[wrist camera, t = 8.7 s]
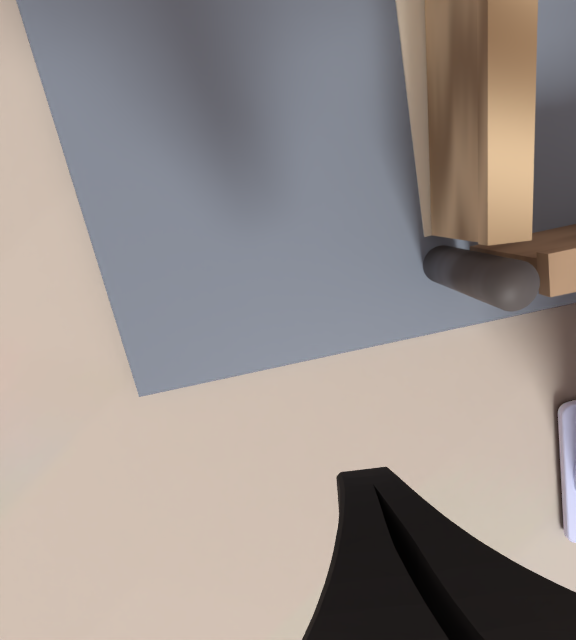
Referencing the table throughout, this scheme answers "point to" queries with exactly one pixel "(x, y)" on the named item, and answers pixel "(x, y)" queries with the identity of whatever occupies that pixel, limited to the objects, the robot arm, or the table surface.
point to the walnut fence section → (509, 268)
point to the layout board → (271, 173)
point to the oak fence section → (481, 118)
